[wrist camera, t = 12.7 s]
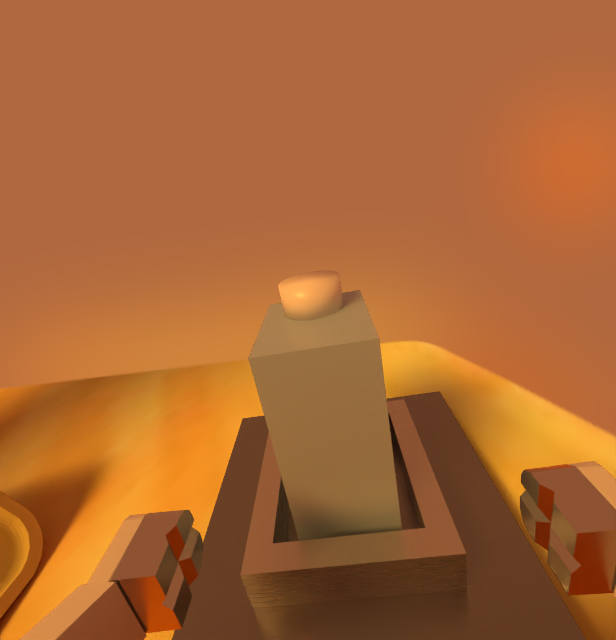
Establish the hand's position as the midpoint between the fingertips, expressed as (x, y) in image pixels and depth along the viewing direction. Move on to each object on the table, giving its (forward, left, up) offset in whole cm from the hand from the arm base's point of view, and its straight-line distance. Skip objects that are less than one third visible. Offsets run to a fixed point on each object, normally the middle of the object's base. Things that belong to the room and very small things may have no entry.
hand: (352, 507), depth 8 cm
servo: (0, +6, -6) cm, 8 cm away
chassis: (0, +6, -7) cm, 9 cm away
